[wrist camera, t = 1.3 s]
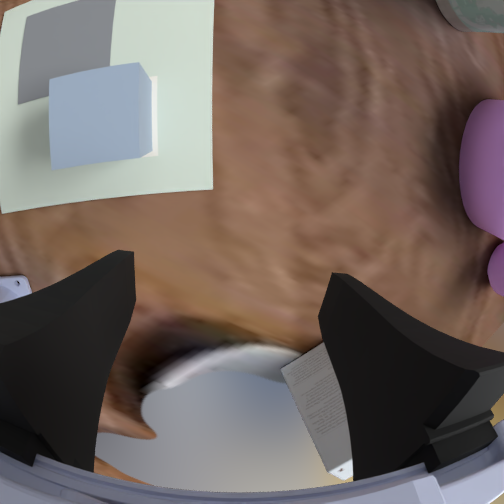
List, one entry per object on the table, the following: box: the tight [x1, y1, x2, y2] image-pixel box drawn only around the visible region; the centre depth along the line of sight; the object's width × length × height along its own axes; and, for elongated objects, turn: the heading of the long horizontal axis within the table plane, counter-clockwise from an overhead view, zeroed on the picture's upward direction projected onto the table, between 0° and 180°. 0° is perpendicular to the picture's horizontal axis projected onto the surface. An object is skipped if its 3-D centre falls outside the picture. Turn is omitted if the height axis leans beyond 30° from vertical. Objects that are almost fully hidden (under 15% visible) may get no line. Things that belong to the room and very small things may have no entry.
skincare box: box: [281, 342, 353, 480], centre depth 22 cm, size 6×4×12 cm
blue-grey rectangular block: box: [49, 62, 153, 170], centre depth 13 cm, size 4×4×6 cm
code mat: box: [0, 0, 214, 214], centre depth 14 cm, size 16×16×1 cm
